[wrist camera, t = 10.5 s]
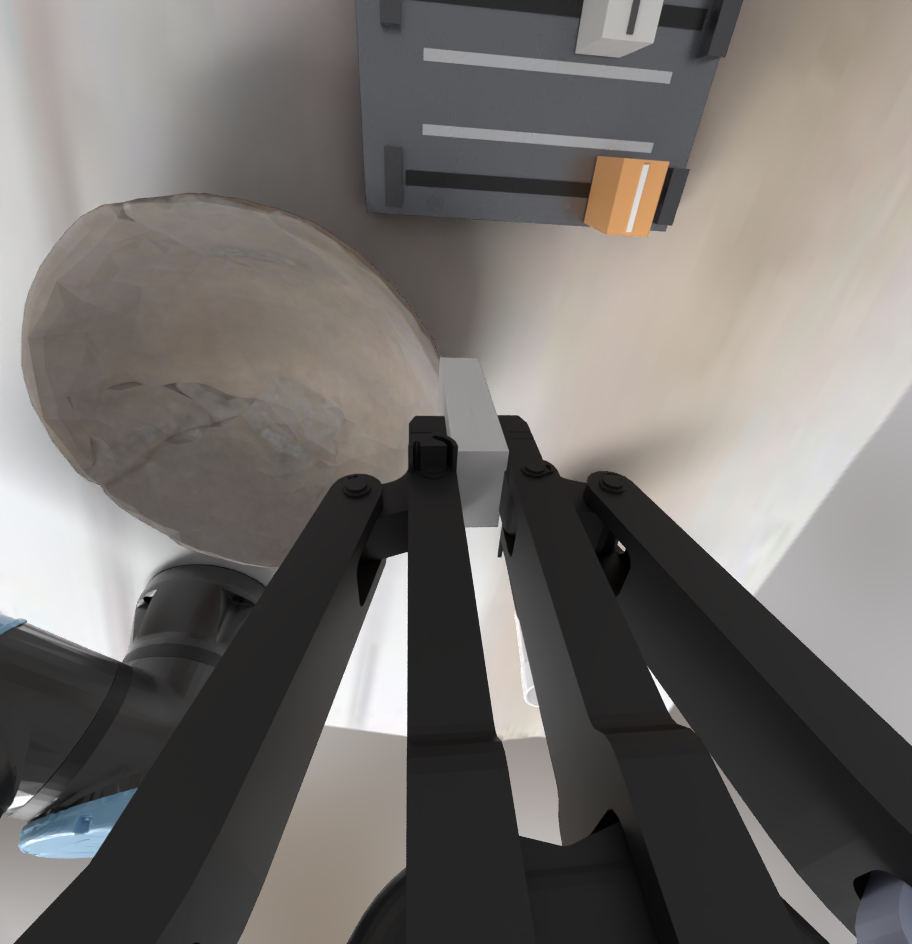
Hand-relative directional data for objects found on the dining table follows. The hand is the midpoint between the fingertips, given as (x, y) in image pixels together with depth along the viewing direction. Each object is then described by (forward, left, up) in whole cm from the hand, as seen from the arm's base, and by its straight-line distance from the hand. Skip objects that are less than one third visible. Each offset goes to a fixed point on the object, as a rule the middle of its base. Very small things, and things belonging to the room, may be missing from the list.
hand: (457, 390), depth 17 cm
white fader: (+8, +14, -17) cm, 23 cm away
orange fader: (+10, +6, -17) cm, 20 cm away
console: (+5, +10, -19) cm, 22 cm away
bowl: (-12, -8, -19) cm, 24 cm away
